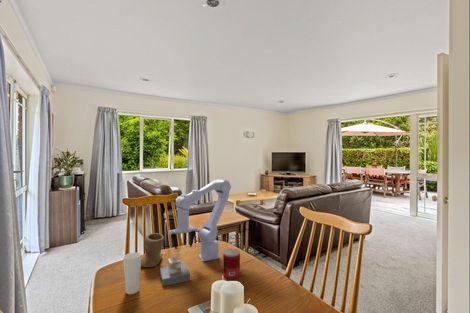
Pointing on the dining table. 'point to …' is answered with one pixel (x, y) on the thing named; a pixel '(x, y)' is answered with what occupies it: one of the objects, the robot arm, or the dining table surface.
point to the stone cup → (152, 250)
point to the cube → (174, 265)
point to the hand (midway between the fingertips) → (183, 247)
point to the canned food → (231, 263)
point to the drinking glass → (132, 272)
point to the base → (174, 275)
